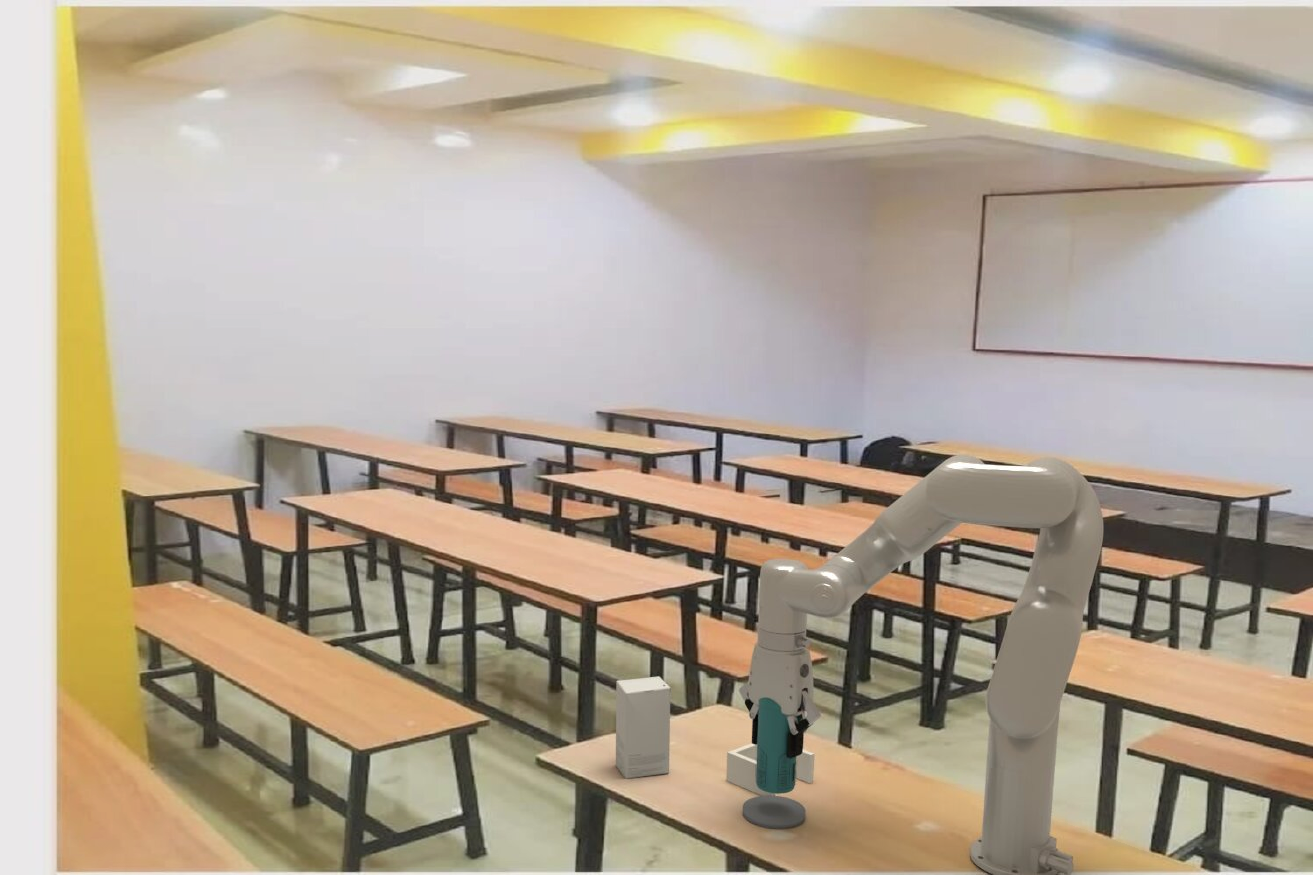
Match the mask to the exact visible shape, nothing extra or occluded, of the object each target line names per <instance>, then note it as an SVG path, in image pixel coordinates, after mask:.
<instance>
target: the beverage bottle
mask: <svg viewBox="0 0 1313 875" xmlns="http://www.w3.org/2000/svg"><path fill="white" fill-rule="evenodd" d="M795 719H796V722H797V723H798V720H797V716H795ZM757 731H758V734H756V735H757V738H756V739H757V740H756V741H757V744H756V745H757V749H756V750H757V765H755V769H756V772H755V773H756V775H755V776H756V778H755V779H756V784H757V787H758V788H759V789H761V790H763V791H765V792H769V793H775V795H776V794H777V795H778V794H781V795H782V794H787V793H790V792H792V791H793V790H794V789H795V786H796V785H797V783H796V782H797V780H796V779H797V778H796V777H795V776H797V772H796V757H793V758H791V759H790V758H788V757H787V755H786V754H787V735H788V733H790V732H791V730H790V727H789V723H788V720H787V716H786V715H784V714H783V713H782V712H781V707H780V706H779V705H778V704H777V703H776V702H775V701H774V700H772V699H770V698H767V697H764V698H761V699H759V713H758V730H757Z"/></svg>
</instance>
